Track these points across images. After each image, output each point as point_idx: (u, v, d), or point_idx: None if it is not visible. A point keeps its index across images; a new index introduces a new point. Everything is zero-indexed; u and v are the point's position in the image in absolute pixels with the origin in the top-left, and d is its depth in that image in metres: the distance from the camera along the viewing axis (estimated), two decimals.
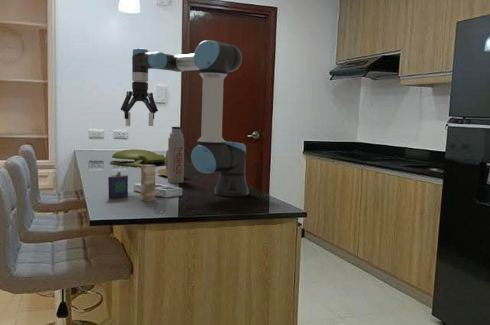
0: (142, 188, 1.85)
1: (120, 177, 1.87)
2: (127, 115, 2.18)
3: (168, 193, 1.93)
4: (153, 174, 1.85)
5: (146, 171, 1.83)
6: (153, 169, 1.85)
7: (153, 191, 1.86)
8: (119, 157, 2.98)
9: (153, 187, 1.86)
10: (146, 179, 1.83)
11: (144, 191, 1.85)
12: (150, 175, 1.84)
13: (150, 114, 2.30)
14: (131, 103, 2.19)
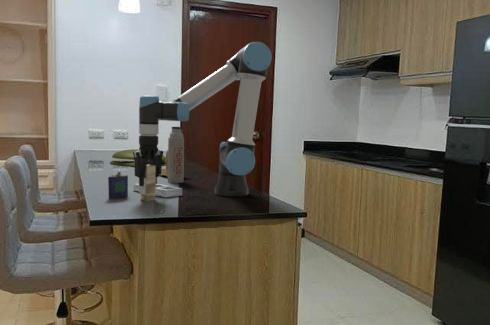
0: None
1: (120, 177, 1.87)
2: (142, 182, 1.83)
3: (168, 193, 1.93)
4: (153, 174, 1.85)
5: (146, 171, 1.83)
6: (153, 169, 1.85)
7: (153, 191, 1.86)
8: (119, 157, 2.98)
9: (153, 187, 1.86)
10: (146, 179, 1.83)
11: None
12: (150, 175, 1.84)
13: None
14: (143, 166, 1.82)
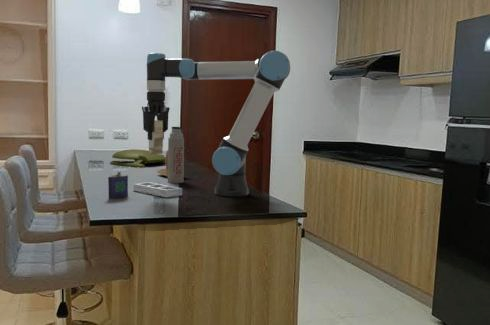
0: None
1: (120, 177, 1.87)
2: (151, 135, 1.92)
3: (168, 193, 1.93)
4: (160, 129, 1.94)
5: (154, 125, 1.92)
6: (160, 124, 1.94)
7: (161, 145, 1.95)
8: (119, 157, 2.98)
9: (161, 141, 1.95)
10: (154, 133, 1.92)
11: None
12: (158, 129, 1.93)
13: None
14: (151, 120, 1.91)
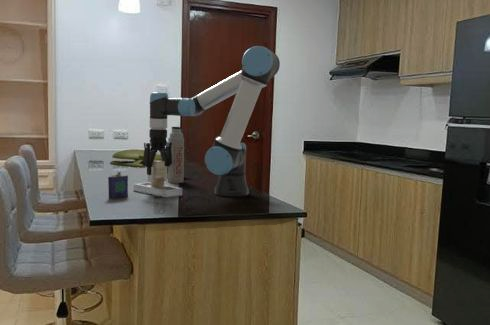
0: None
1: (120, 177, 1.87)
2: (150, 171, 1.98)
3: (168, 193, 1.93)
4: (162, 169, 2.01)
5: (156, 166, 1.99)
6: (162, 164, 2.01)
7: (162, 185, 2.02)
8: (119, 157, 2.98)
9: (162, 181, 2.02)
10: (156, 174, 2.00)
11: (153, 185, 2.01)
12: (160, 170, 2.00)
13: (164, 168, 2.04)
14: (152, 156, 1.97)
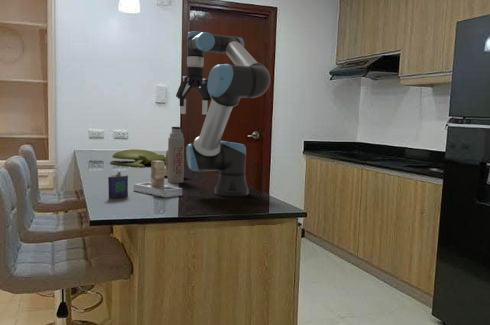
0: (152, 182, 2.01)
1: (120, 177, 1.87)
2: (182, 102, 2.05)
3: (168, 193, 1.93)
4: (162, 169, 2.01)
5: (156, 166, 1.99)
6: (162, 165, 2.01)
7: (162, 185, 2.02)
8: (119, 157, 2.98)
9: (162, 181, 2.02)
10: (156, 174, 2.00)
11: (153, 185, 2.01)
12: (160, 170, 2.00)
13: (204, 102, 2.17)
14: (187, 89, 2.06)
